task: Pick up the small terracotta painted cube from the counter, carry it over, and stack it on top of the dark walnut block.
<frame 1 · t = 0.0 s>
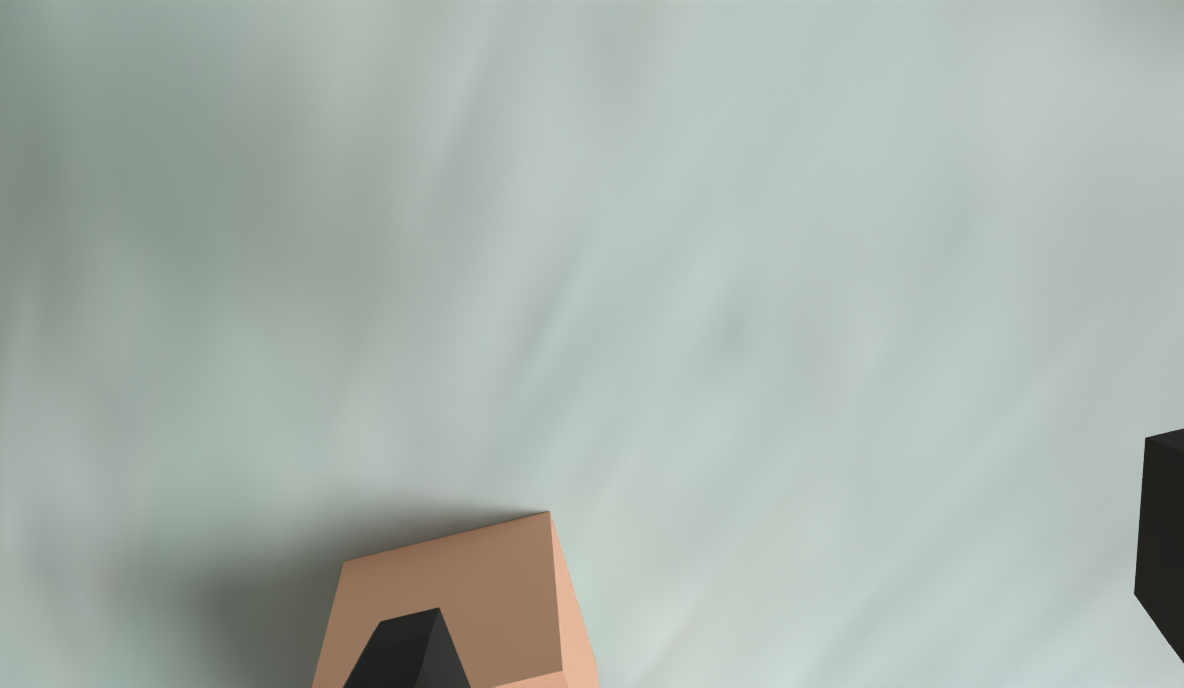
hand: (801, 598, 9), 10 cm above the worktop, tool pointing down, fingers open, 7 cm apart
terracotta cube: (476, 612, 22), on the worktop
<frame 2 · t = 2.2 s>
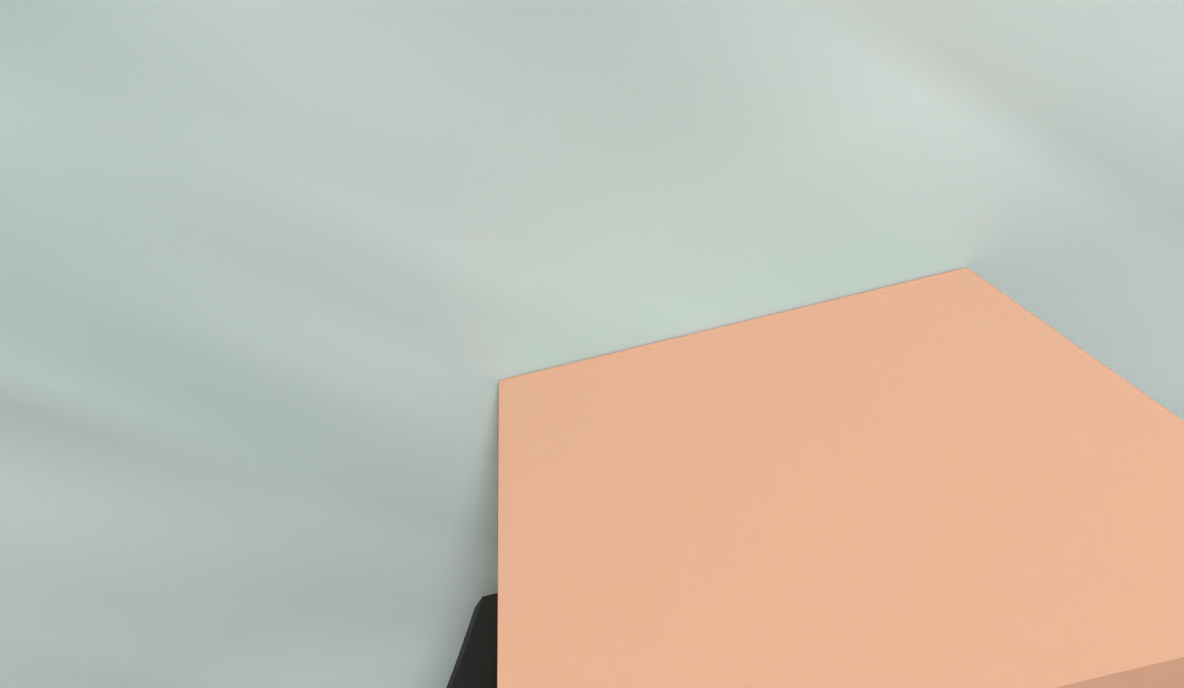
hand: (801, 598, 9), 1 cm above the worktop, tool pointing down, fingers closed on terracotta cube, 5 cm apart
terracotta cube: (763, 514, 10), on the worktop, touching gripper
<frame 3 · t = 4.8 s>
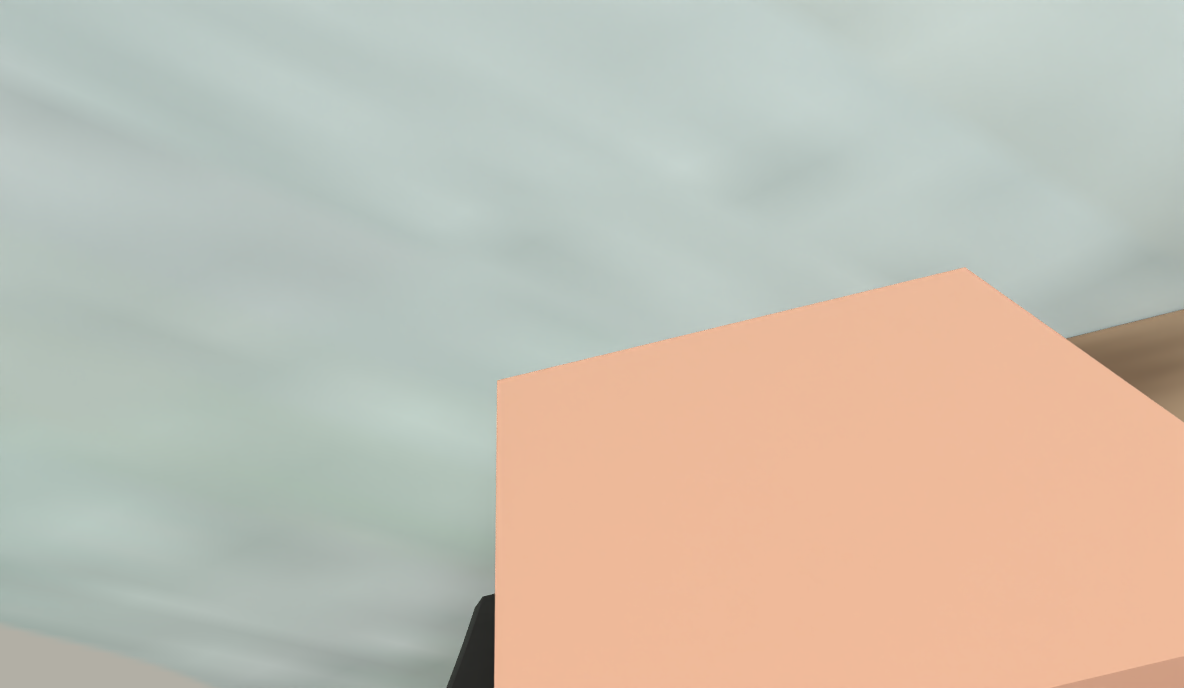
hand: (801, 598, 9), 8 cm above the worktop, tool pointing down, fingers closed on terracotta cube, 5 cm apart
walnut block: (986, 531, 20), on the worktop
terracotta cube: (762, 514, 10), point 7 cm above the worktop, touching gripper
when the fingers open (6 cm above the worktop, at t = 7.4 s): terracotta cube stays where it is, resting on walnut block.
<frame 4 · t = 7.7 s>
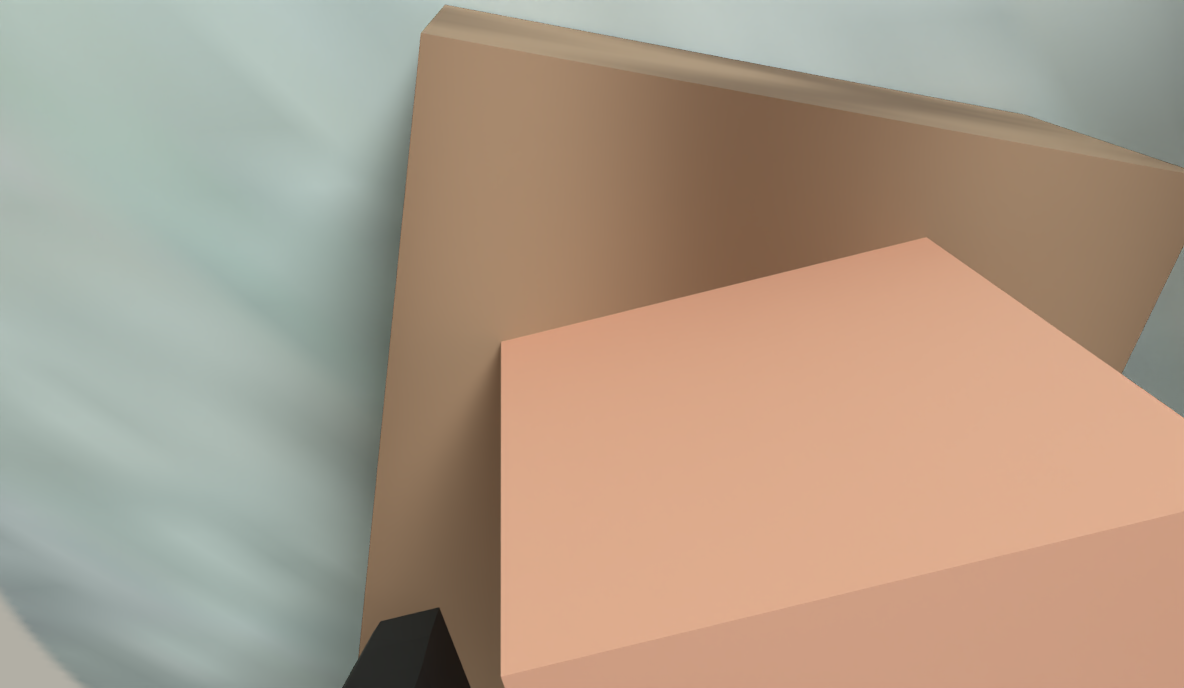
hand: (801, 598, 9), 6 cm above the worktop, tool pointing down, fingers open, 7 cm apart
walnut block: (683, 337, 15), on the worktop
terracotta cube: (744, 467, 11), point 4 cm above the worktop, touching walnut block
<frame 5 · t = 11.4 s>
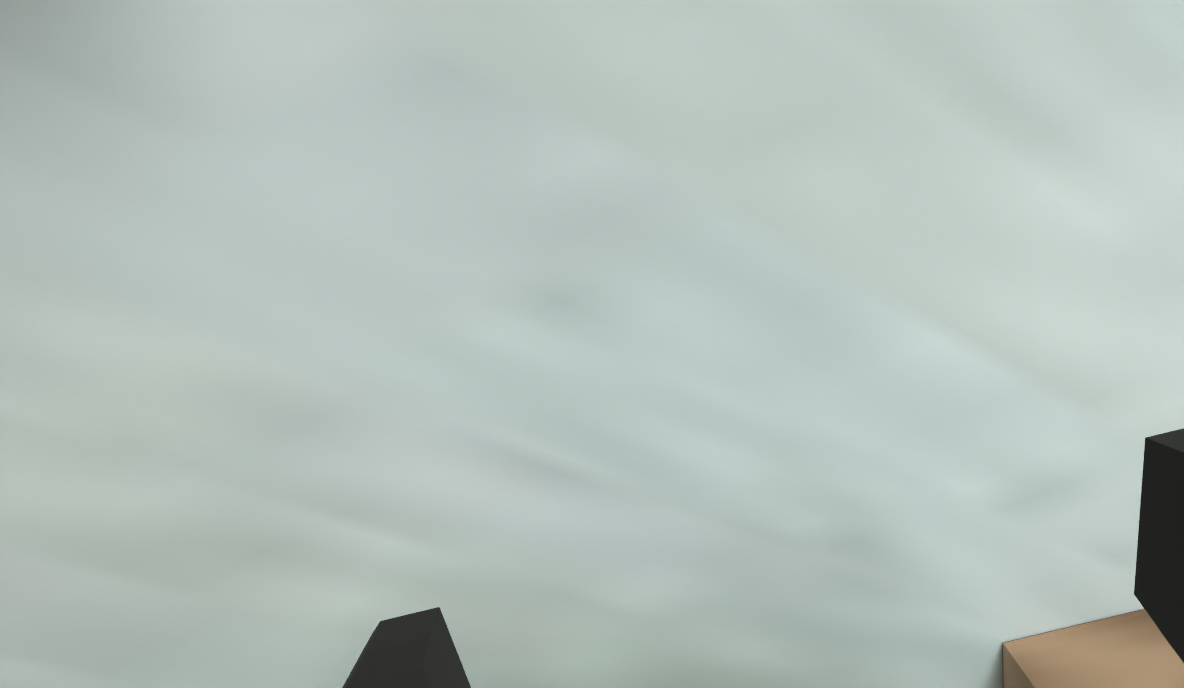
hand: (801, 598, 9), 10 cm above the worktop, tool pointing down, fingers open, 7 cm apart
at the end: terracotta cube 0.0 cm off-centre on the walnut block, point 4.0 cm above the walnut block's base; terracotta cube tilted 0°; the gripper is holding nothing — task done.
